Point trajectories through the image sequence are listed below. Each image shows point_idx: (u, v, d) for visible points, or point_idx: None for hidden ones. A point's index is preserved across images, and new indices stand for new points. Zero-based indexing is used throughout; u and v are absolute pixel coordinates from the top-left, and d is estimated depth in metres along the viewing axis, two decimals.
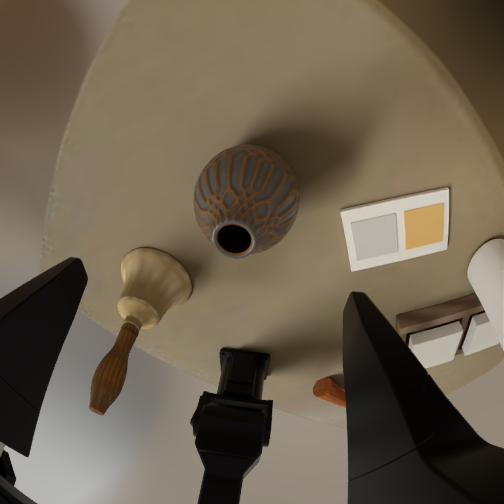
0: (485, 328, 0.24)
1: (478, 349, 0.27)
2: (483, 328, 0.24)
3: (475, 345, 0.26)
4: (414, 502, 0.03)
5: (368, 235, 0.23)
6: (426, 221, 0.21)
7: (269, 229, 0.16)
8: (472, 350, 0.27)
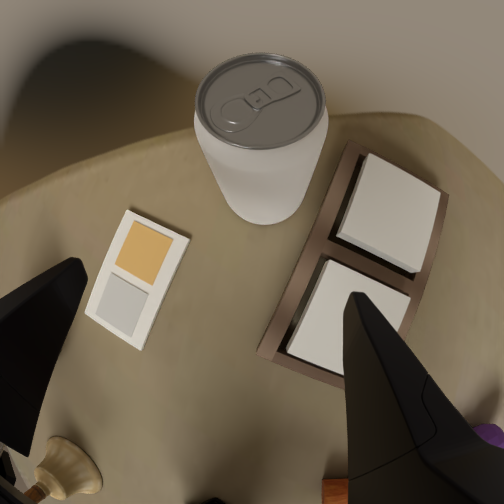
0: (365, 216, 0.18)
1: (422, 241, 0.18)
2: (360, 221, 0.18)
3: (403, 245, 0.18)
4: (414, 502, 0.03)
5: (113, 308, 0.22)
6: (137, 247, 0.22)
7: None
8: (415, 253, 0.18)
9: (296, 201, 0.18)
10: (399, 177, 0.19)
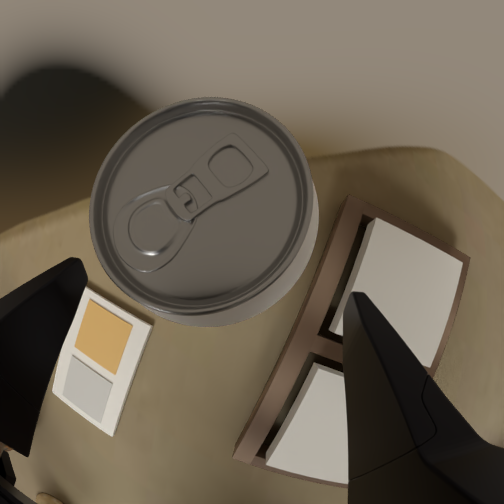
0: None
1: (436, 331, 0.13)
2: None
3: (413, 339, 0.13)
4: (414, 502, 0.03)
5: (79, 393, 0.17)
6: (95, 331, 0.17)
7: None
8: (426, 347, 0.13)
9: None
10: (414, 248, 0.14)
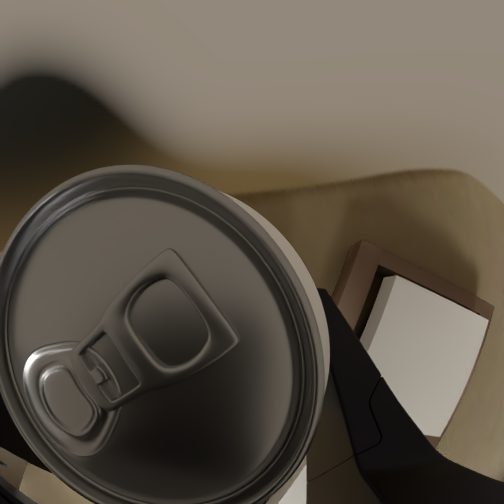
0: None
1: (452, 400, 0.10)
2: None
3: (425, 412, 0.10)
4: None
5: None
6: None
7: None
8: (438, 418, 0.10)
9: None
10: (438, 310, 0.11)
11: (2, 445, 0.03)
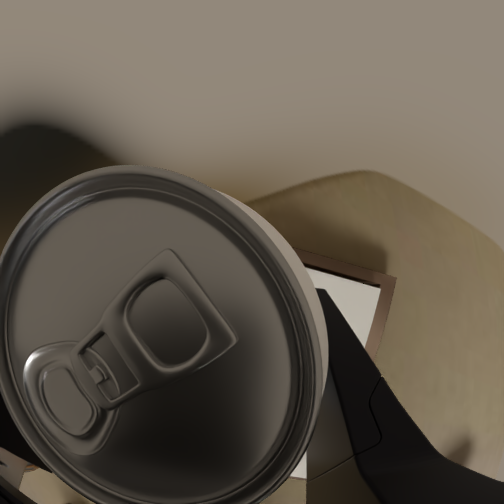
0: None
1: None
2: None
3: None
4: None
5: None
6: None
7: None
8: None
9: None
10: (326, 284, 0.18)
11: (2, 445, 0.03)
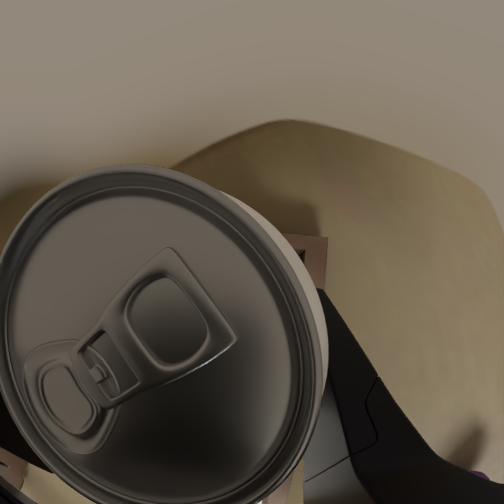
0: None
1: None
2: None
3: None
4: None
5: None
6: None
7: None
8: None
9: None
10: None
11: (3, 445, 0.03)
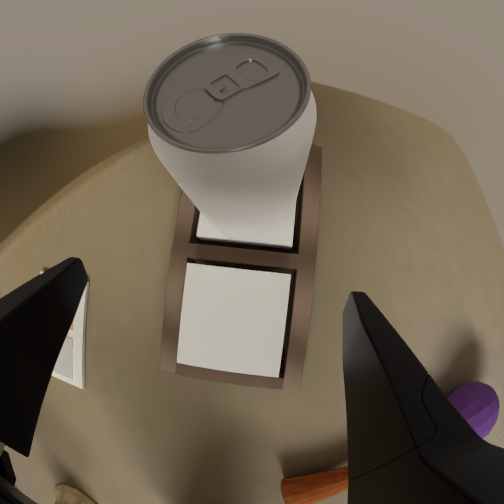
0: None
1: None
2: None
3: None
4: (414, 502, 0.03)
5: None
6: None
7: None
8: (281, 229, 0.19)
9: (283, 214, 0.15)
10: None
11: None
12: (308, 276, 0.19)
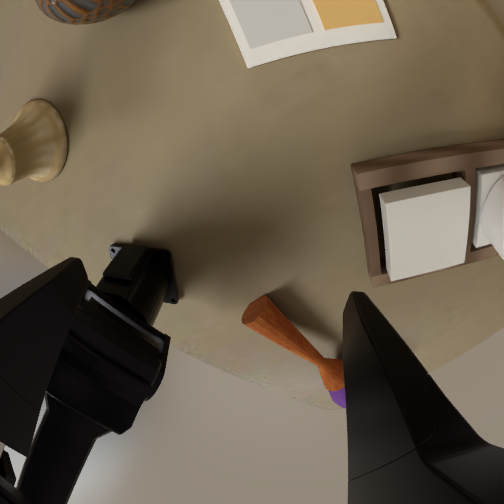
0: None
1: None
2: None
3: None
4: (414, 502, 0.03)
5: (258, 10, 0.12)
6: None
7: None
8: (486, 237, 0.17)
9: None
10: None
11: None
12: None
